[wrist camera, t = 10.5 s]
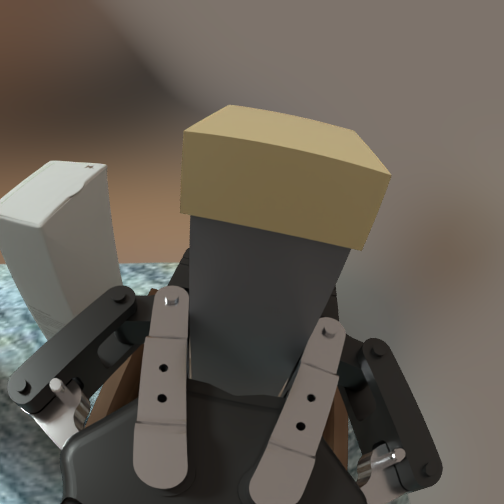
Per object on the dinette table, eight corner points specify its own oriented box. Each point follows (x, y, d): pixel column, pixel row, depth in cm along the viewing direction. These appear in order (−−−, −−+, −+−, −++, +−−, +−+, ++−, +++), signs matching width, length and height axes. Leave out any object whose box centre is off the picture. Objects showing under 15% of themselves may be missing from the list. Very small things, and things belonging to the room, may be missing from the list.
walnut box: (106, 461, 15) (78, 444, 11) (158, 330, 26) (151, 288, 22) (312, 505, 15) (345, 501, 11) (319, 364, 26) (343, 328, 22)
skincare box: (82, 289, 28) (51, 157, 18) (132, 304, 28) (112, 161, 18) (47, 347, 21) (-19, 208, 12) (101, 370, 21) (40, 221, 12)
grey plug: (191, 425, 16) (183, 130, 5) (205, 374, 20) (229, 104, 9) (255, 439, 16) (392, 175, 5) (263, 386, 20) (354, 130, 9)
